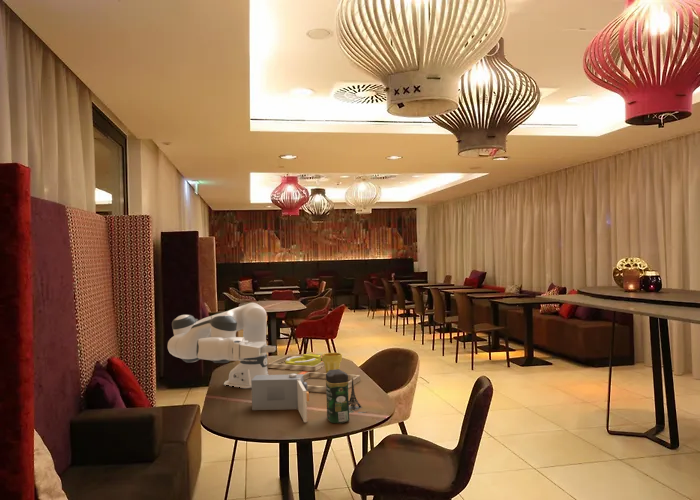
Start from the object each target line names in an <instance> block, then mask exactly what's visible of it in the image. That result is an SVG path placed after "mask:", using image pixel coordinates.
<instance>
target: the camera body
mask: <svg viewBox="0 0 700 500" xmlns="http://www.w3.org/2000/svg"><path fill="white" fill-rule="evenodd" d="M303 375H304V374H301V373H299V374H298V373H289V374H268V375H256V376H255V377H254V378H253V379H252V388H251V409H252V411H267V410H268V411H269V410H270V411H274V410H279V411H281V410H298V403H297V378H300V380H301V382H302V384H303V386H304V387H305V389H306V392H307V391H308V387H307V385H308V382H307V381H303Z"/></svg>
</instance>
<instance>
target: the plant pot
mask: <svg viewBox="0 0 700 500" xmlns="http://www.w3.org/2000/svg"><path fill="white" fill-rule="evenodd" d="M321 357H322V361H323V362H324V369H325V373H327V372H328V371H329V370H335V369H340V368H341V362H342V361H343V354H342V353H340V352H327V353H322V355H321ZM340 370H341V369H340Z"/></svg>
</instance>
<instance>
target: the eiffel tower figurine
mask: <svg viewBox="0 0 700 500" xmlns="http://www.w3.org/2000/svg"><path fill="white" fill-rule="evenodd" d="M350 393H351V394H350V396H349V414H354V413H355V411H358V410H360V409H362V408H363V406H362V405H361V404H360V402H359V400H358V399H357V397H356V393H355V384H354V383H353V376H352V387H351V391H350ZM357 413H358V414H361V413H365V411H358V412H357Z"/></svg>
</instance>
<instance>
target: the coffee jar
mask: <svg viewBox="0 0 700 500" xmlns="http://www.w3.org/2000/svg"><path fill="white" fill-rule="evenodd" d="M325 373H326V372H325ZM348 375H349V374H348V373H346V371H344V370H341V369H335V370H329V371H328V372H327V373H326V379H325V387H326V393H325V395H326V418H327V420H328V421H329V422H330V423H331V424H344V423H346V422H349V421H350V413H349V406H350V405H349V400H350V396H349V389H348V382H349V380H348Z"/></svg>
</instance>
